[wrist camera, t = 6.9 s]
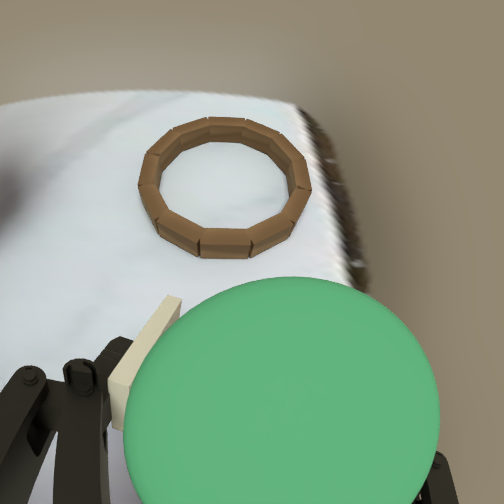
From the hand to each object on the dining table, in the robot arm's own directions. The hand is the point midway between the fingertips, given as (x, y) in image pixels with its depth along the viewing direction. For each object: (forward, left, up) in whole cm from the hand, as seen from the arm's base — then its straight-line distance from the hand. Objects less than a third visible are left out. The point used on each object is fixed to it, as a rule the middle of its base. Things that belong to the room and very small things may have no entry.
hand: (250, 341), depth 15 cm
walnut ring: (-1, +17, -9) cm, 19 cm away
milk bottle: (-1, -3, -9) cm, 9 cm away
